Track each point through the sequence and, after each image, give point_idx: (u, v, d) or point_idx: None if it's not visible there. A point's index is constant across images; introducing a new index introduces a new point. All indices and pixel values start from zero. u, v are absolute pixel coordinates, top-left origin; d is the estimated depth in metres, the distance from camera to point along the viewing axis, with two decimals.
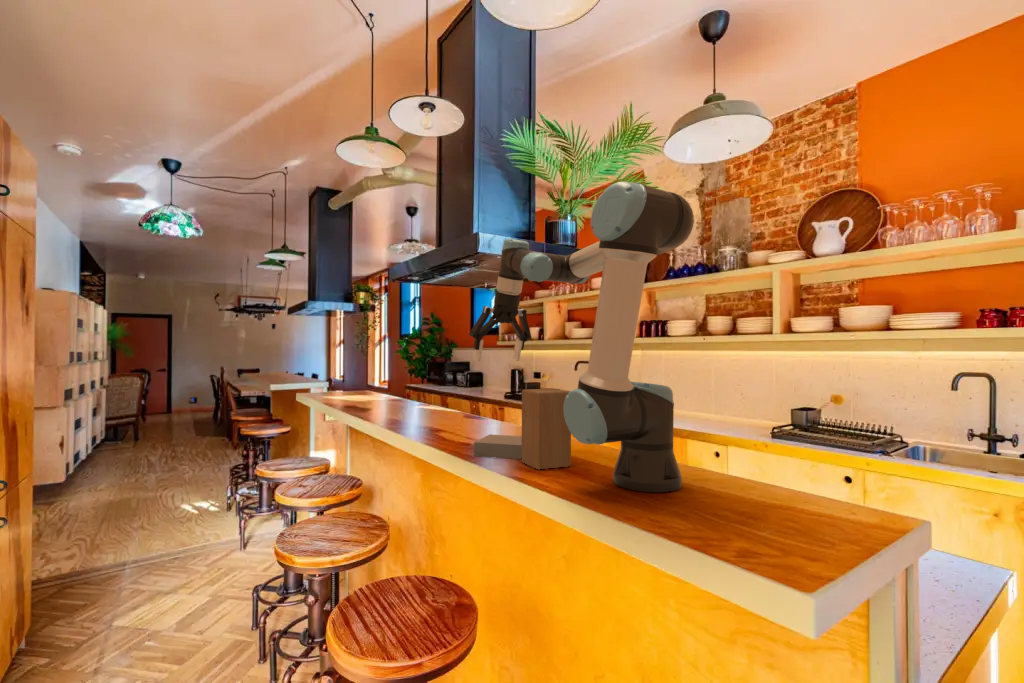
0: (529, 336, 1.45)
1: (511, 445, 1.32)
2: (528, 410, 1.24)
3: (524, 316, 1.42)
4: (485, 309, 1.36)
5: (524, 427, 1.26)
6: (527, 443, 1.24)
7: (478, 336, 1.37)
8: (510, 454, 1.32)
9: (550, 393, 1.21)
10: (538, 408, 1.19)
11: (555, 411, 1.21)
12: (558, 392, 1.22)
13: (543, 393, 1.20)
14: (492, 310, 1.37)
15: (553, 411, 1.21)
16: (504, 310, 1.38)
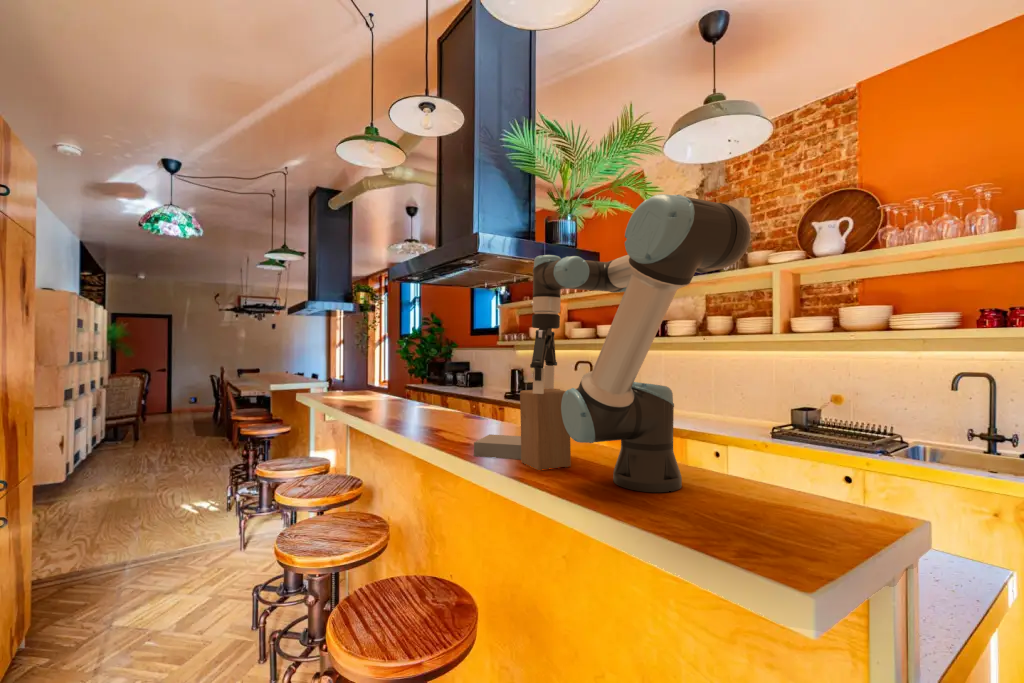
0: (555, 360, 1.35)
1: (511, 445, 1.32)
2: (527, 411, 1.24)
3: None
4: (541, 333, 1.20)
5: (523, 428, 1.26)
6: (527, 444, 1.24)
7: (541, 364, 1.18)
8: (510, 454, 1.32)
9: (548, 394, 1.20)
10: (536, 410, 1.19)
11: (553, 412, 1.21)
12: (556, 393, 1.22)
13: (541, 394, 1.20)
14: None
15: (552, 412, 1.21)
16: (548, 334, 1.25)
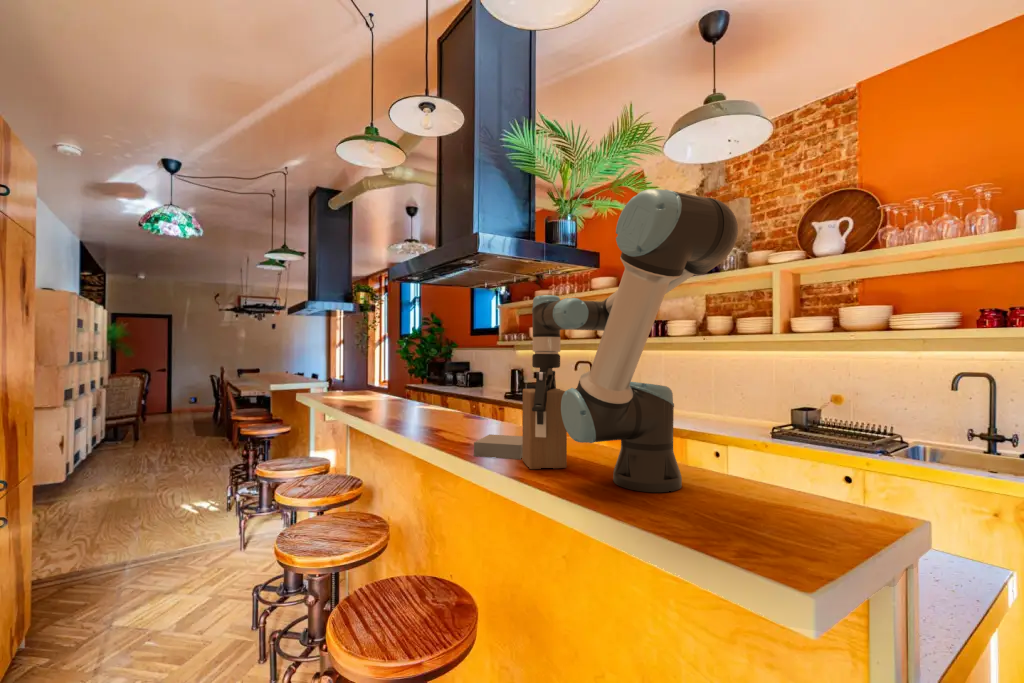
0: None
1: (511, 445, 1.32)
2: (525, 409, 1.25)
3: None
4: (541, 375, 1.19)
5: (523, 426, 1.27)
6: (525, 442, 1.25)
7: (543, 407, 1.18)
8: (510, 454, 1.32)
9: None
10: (529, 408, 1.20)
11: (548, 411, 1.21)
12: (552, 392, 1.21)
13: None
14: None
15: (546, 411, 1.20)
16: (549, 373, 1.25)
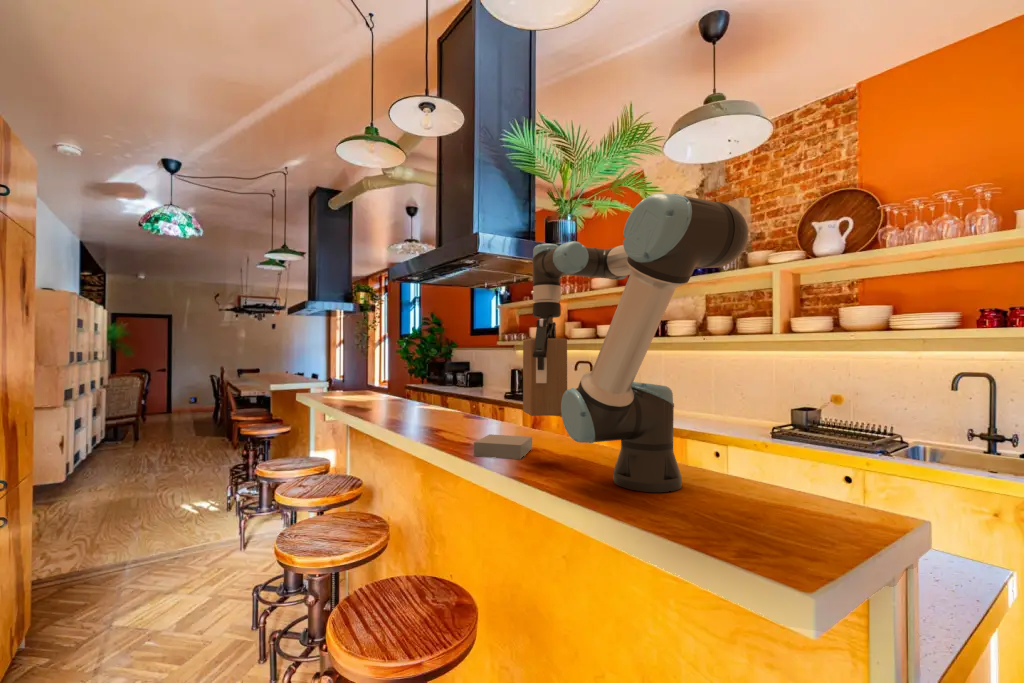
0: None
1: (511, 445, 1.32)
2: (525, 358, 1.25)
3: (555, 329, 1.32)
4: (542, 321, 1.19)
5: (524, 376, 1.28)
6: (525, 391, 1.25)
7: (544, 353, 1.18)
8: (510, 454, 1.32)
9: None
10: (530, 354, 1.20)
11: (549, 358, 1.21)
12: (552, 339, 1.21)
13: None
14: None
15: (547, 358, 1.21)
16: (549, 321, 1.25)
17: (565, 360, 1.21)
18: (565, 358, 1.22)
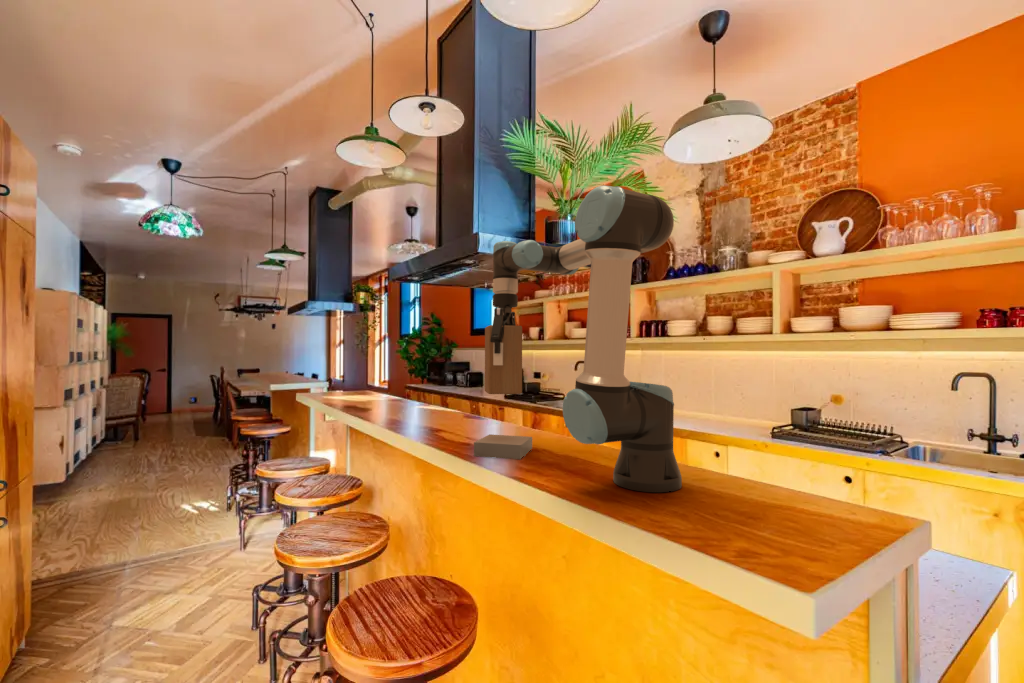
0: None
1: (511, 445, 1.32)
2: (486, 343, 1.40)
3: (514, 318, 1.47)
4: (499, 310, 1.34)
5: (485, 359, 1.43)
6: (486, 372, 1.40)
7: (500, 338, 1.33)
8: (510, 454, 1.32)
9: None
10: (488, 339, 1.35)
11: (505, 343, 1.36)
12: (509, 326, 1.36)
13: None
14: None
15: (503, 343, 1.36)
16: (507, 311, 1.40)
17: (520, 345, 1.36)
18: (520, 343, 1.36)
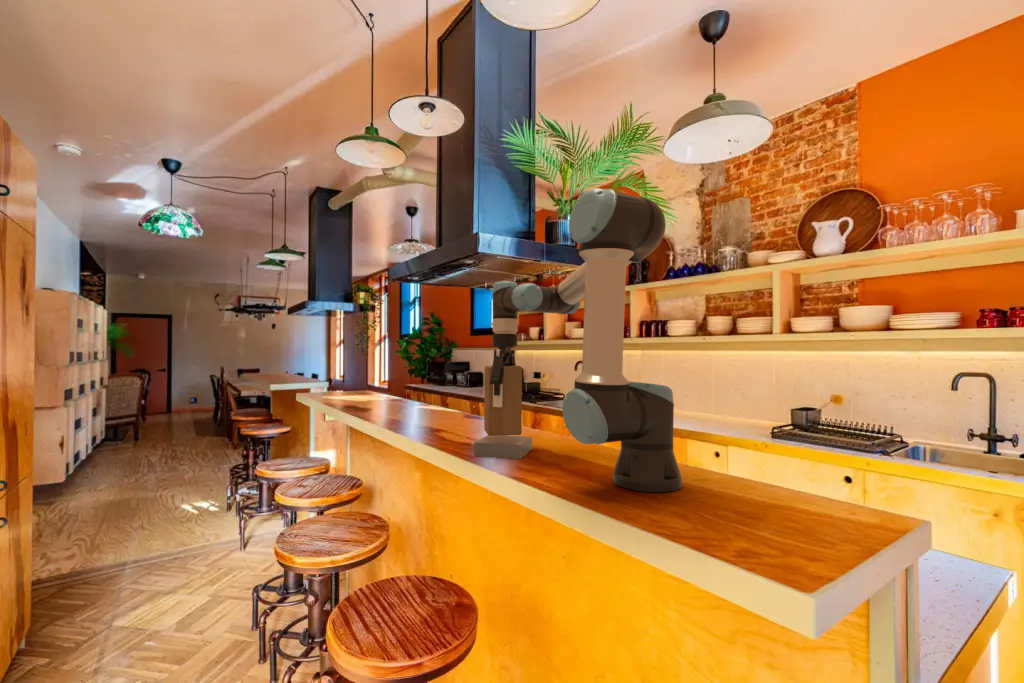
0: None
1: (511, 445, 1.32)
2: None
3: (514, 356, 1.46)
4: (498, 352, 1.34)
5: None
6: (485, 412, 1.40)
7: (499, 380, 1.33)
8: (510, 454, 1.32)
9: None
10: (488, 381, 1.35)
11: (505, 384, 1.35)
12: (508, 367, 1.36)
13: None
14: None
15: (503, 384, 1.35)
16: (507, 351, 1.39)
17: (520, 386, 1.36)
18: (520, 384, 1.36)
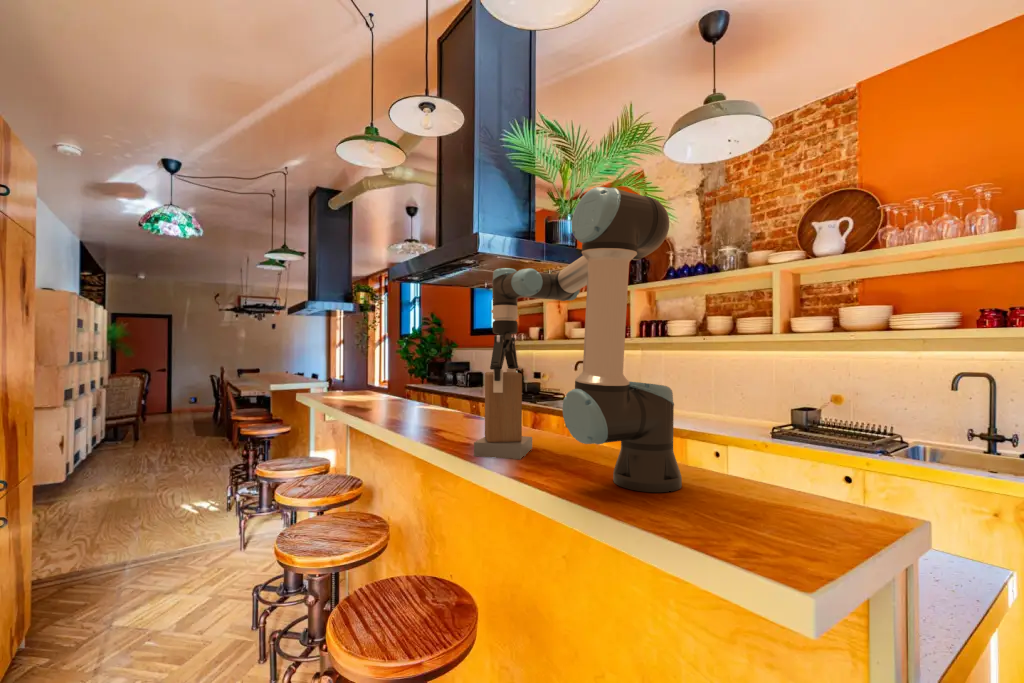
0: None
1: (511, 445, 1.32)
2: (486, 390, 1.40)
3: (514, 343, 1.46)
4: (499, 337, 1.34)
5: (485, 405, 1.42)
6: None
7: (500, 366, 1.32)
8: (510, 454, 1.32)
9: None
10: (488, 388, 1.35)
11: (505, 391, 1.35)
12: (508, 374, 1.36)
13: None
14: None
15: (503, 391, 1.35)
16: (507, 338, 1.40)
17: (520, 393, 1.36)
18: (520, 391, 1.36)
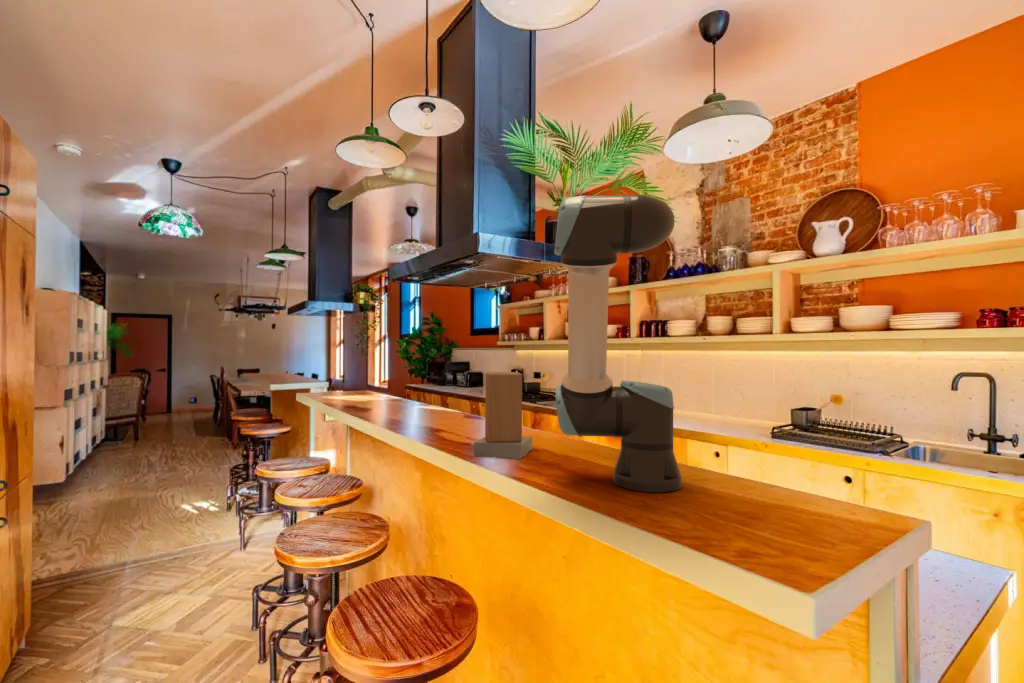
0: None
1: (511, 445, 1.32)
2: (486, 390, 1.40)
3: None
4: None
5: None
6: (486, 419, 1.40)
7: None
8: (510, 454, 1.32)
9: (500, 374, 1.35)
10: (488, 388, 1.35)
11: (505, 391, 1.35)
12: (508, 374, 1.36)
13: (493, 374, 1.35)
14: None
15: (503, 391, 1.35)
16: None
17: (520, 393, 1.36)
18: (520, 391, 1.36)
